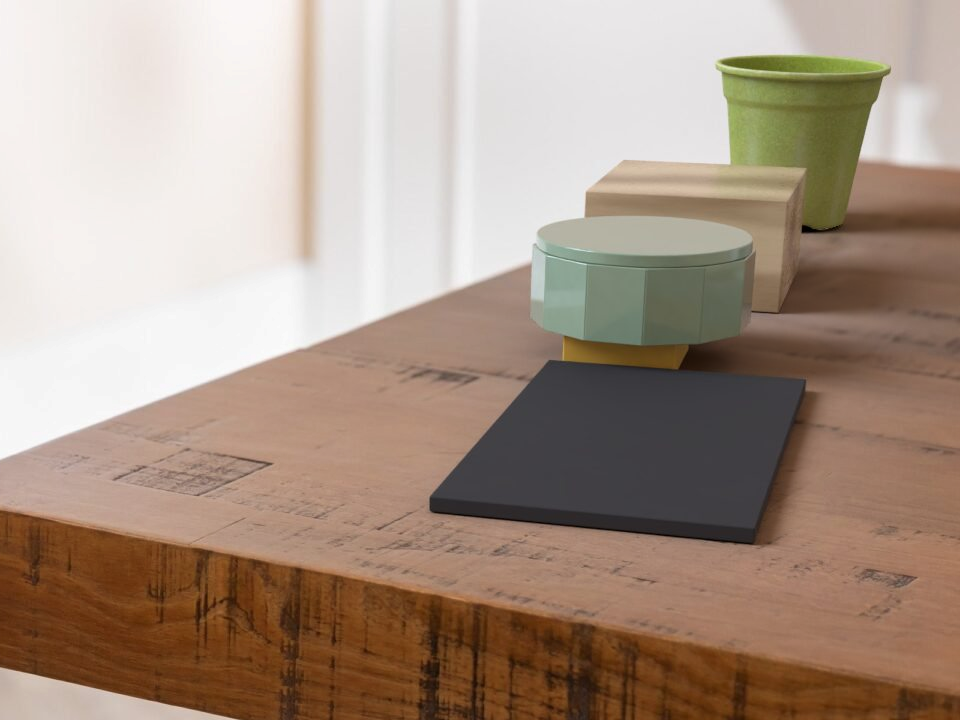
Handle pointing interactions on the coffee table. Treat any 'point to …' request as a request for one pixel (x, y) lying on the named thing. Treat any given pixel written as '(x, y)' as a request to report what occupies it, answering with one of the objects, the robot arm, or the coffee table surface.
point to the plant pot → (803, 121)
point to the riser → (717, 209)
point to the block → (623, 354)
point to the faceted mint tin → (642, 280)
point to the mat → (631, 451)
